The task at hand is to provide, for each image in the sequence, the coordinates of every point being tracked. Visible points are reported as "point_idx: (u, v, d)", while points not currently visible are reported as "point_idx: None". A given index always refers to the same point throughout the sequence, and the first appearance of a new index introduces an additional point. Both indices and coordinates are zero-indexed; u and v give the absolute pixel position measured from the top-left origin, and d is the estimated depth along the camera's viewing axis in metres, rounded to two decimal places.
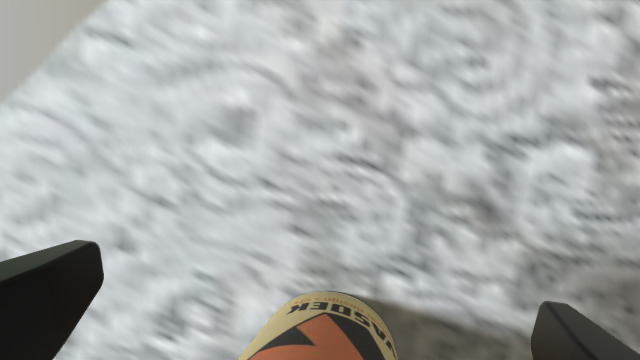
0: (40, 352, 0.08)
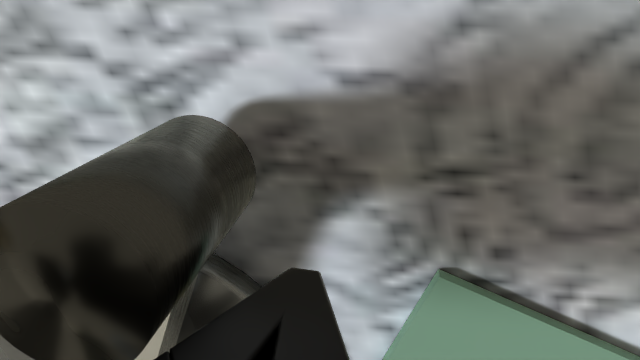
0: None
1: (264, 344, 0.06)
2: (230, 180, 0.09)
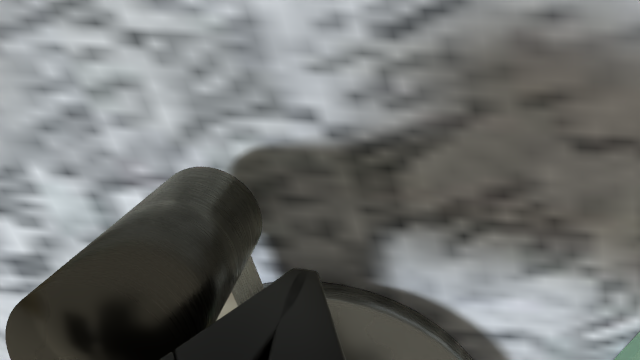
0: None
1: (268, 345, 0.06)
2: (213, 203, 0.10)
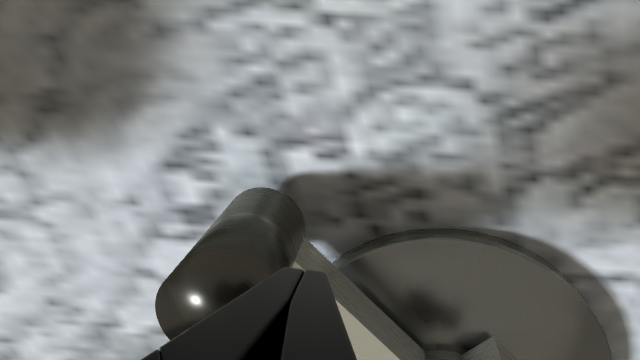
0: None
1: (255, 343, 0.06)
2: (254, 206, 0.13)
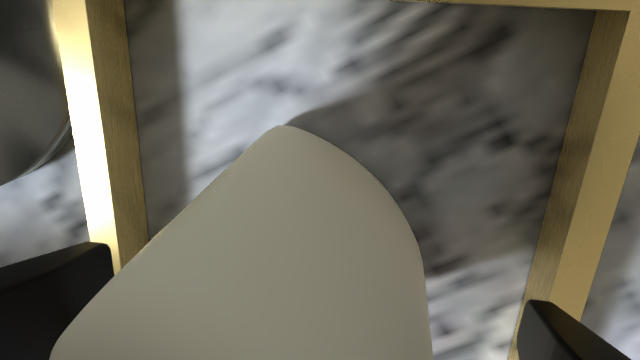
0: None
1: None
2: None
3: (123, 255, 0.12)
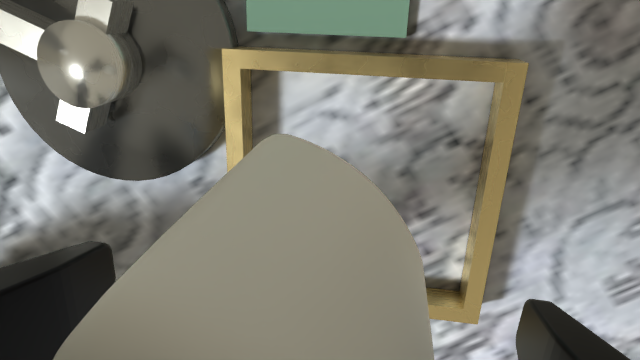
0: (54, 354, 0.08)
1: None
2: None
3: None
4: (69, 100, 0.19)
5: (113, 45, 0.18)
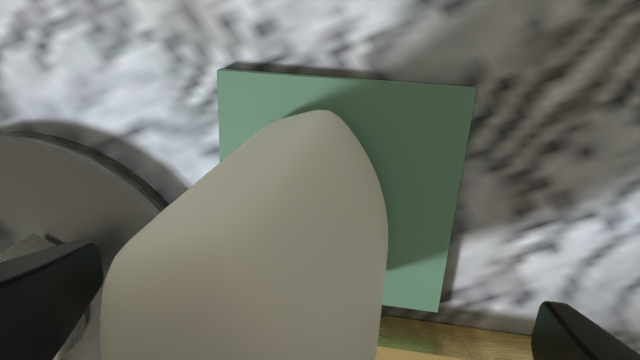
0: (40, 352, 0.08)
1: None
2: None
3: None
4: None
5: None
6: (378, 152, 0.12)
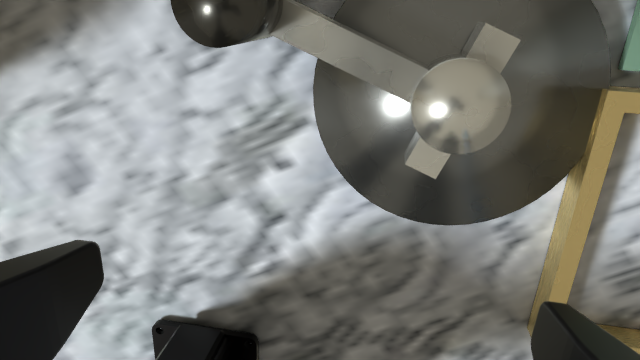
0: (41, 352, 0.08)
1: None
2: None
3: (577, 260, 0.20)
4: (437, 145, 0.17)
5: None
6: None
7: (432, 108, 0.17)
